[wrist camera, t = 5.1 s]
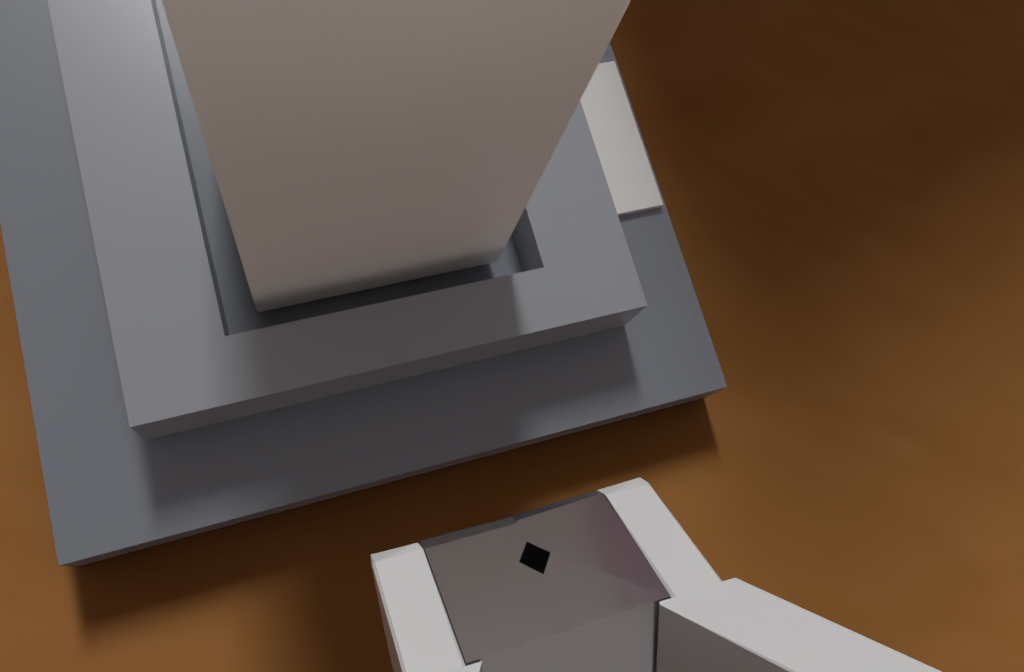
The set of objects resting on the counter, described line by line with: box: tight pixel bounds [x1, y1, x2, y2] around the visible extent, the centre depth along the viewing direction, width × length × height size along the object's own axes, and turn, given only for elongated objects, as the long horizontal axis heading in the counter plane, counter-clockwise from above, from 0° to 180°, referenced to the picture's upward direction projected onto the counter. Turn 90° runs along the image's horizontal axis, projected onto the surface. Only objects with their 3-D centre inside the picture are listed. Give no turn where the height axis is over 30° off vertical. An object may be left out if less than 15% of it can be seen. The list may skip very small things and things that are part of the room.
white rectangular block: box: [162, 0, 631, 312], centre depth 11 cm, size 4×4×9 cm
